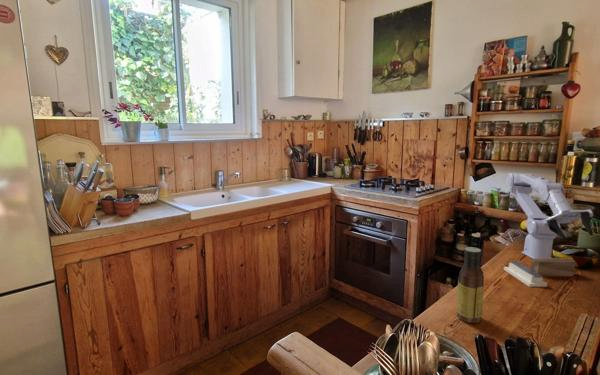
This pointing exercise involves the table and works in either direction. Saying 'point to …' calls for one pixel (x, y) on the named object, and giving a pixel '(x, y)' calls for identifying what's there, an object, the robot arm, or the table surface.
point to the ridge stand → (525, 274)
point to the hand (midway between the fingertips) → (577, 236)
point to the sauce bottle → (470, 287)
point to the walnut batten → (553, 266)
